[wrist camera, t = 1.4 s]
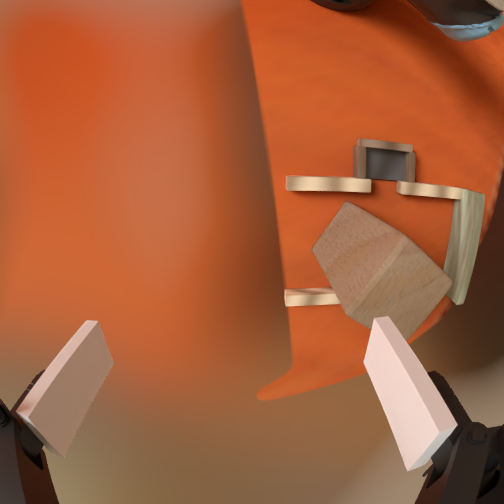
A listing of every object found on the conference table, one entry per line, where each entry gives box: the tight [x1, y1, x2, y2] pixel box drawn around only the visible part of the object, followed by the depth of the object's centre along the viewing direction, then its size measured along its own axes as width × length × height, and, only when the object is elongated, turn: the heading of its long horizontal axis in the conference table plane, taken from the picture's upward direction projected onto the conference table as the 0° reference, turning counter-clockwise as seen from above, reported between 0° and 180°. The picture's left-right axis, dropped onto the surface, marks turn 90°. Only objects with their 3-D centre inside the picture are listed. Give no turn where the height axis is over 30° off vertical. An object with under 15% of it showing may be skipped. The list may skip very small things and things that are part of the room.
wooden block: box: [312, 201, 453, 341], centre depth 35 cm, size 10×10×20 cm
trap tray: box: [285, 139, 485, 306], centre depth 41 cm, size 35×33×7 cm
